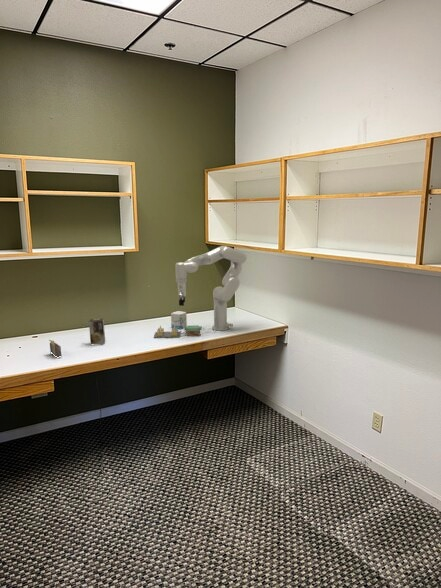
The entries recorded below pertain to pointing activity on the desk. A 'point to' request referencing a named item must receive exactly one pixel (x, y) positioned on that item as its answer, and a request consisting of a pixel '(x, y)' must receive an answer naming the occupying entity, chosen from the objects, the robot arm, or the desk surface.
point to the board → (193, 328)
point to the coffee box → (97, 331)
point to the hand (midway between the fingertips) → (182, 303)
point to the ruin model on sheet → (55, 348)
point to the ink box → (178, 319)
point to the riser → (192, 333)
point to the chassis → (167, 333)
